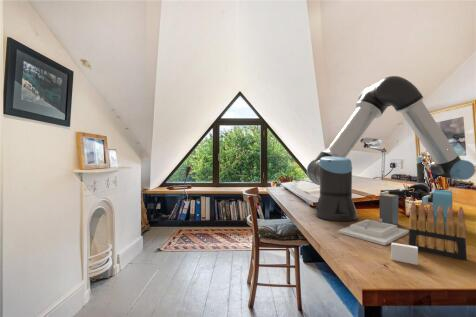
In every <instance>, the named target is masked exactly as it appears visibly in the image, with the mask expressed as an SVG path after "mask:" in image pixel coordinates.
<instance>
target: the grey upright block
mask: <svg viewBox="0 0 476 317" xmlns="http://www.w3.org/2000/svg"><path fill="white" fill-rule="evenodd" d="M379 218H381V219H382V222H383V223H387V224H392V225H397V226H398V225H399V197H398V195H391V194H383V195H380V194H379Z"/></svg>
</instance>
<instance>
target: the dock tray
mask: <svg viewBox="0 0 476 317" xmlns="http://www.w3.org/2000/svg"><path fill="white" fill-rule="evenodd" d="M338 233H339V234H341V235H346V236H349V237H353V238H356V239H359V240H364V241H367V242H372V243H374V244H378V245H382V246H387V245H388V244H390V243H393V242H394V241H396V240H398V239H400V238H402V237H403V236H405V235H407V234H409V229H406V228H405V229H404V228H401V227H398V225H392V224H387V223H383V222H382V219H381V218H380V217H379V218H378V221H377V220H372V219H367V218H366V219H364V220H361V221H358V222H355V223H352V224H349V226H347V227H343V228H341V229H339V230H338Z"/></svg>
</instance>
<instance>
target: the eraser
mask: <svg viewBox="0 0 476 317" xmlns="http://www.w3.org/2000/svg"><path fill="white" fill-rule="evenodd" d="M390 246H391V247H390V248H391V249H390V251H391V252H390V254H391V256H390V258H391V259H390V260H391V261H396V262H402V263H406V264H412V265H419V251H418V247H416V246H410V245H409V244H405V243H404V244H403V243H397V242H391V245H390Z"/></svg>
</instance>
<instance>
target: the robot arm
mask: <svg viewBox="0 0 476 317" xmlns="http://www.w3.org/2000/svg"><path fill="white" fill-rule="evenodd" d="M423 99H424V96H423V94H422V93H421V92H420V90H419V88H417V87H416V86H415V84H413V83H412V82H411V81H410V80H408V79H406V78H404V77H402V76H399V75H389V76H386V77H384V78H383V79H380V80H379V81H377V82H376V83H373V84H370V85H369V86H367V87H365V88H364V89H363V90H362V91H361V92H360V94H359V95H358V99H357V100H358V101H357V102H356V103H355V107H356V109H355V111H354V112H353V113H352V115H351V116H350V118H349V119H348V120H347V121H346V123H345V124H344V126H343V127H342V128H341V130H340V131H339V133H338V134H337V135H336V137H335V138H334V140H333V141H331V144H330V145H329V146H328V148H327V149H326V150H322V151H320V153H319V154H318V156H316V158H315V159H313V160H312V161H310V162H309V163H308V165H307V167H306V174H307V177H308V179H309V181H310V182H312V183H314V184H315V185H318V186H319V197H318V201H317V203H316V205H315V209H314V211H315V212H314V213H315V214H314V215H315V216H316V217H318V218H320V219H323V220H326V221H333V222H334V221H335V222H336V221H337V222H352V221H356V220H357V219H358V212H357V209H356V206H355V204H354V200H353V193H352V192H353V189H352V188H353V165H352V160H351V159H350V158H348V155H349V154H350V152H352V150H353V148H354V147H355V146H356V144H357V143H358V142H359V140H360V139H361V137H362V136H363V135H364V133H365V132H366V131H367V130H368V128H369V126H371V124H372V122H373V121H374V119H378V118H380V117H381V116H382V115H383V114H384V113H385V111H386V109H388V107H392V108H394V110H395V111H396V112H398V113H401V115H402V116H403V118H404V120H405V121H406V122H407V123H408V126H410V128H411V130H412V131H413V133H414V134H415V135H416V137H417V139H418V140H419V141H420V143H421V144H422V146H423V147H424V148H425V150H426V152H427V153H428V156H431V158H432V159H433V161H434V162H432V163H431V169H430V170H431V171H432V173H433V174H434V175H436V176H442V177H445V178H444V179H447V178H448V180H450V179H451V180H455V181H459V180H460V181H467V180H469V179H471V178H472V177H473V176H474V175H475V173H476V167H475V165H474V164H473V163H472V162H471V161H469V160H465V159H462V158H461V157H460V155H459V154H458V153H457V151H456V149H455V148H454V147H453V145H452V144H451V142H450V141H449V139H448V138H447V136H446V135H445V133H444V132H443V131H442V129H441V127H440V126H439V125H438V123H437V122H436V120H435V119H434V117H433V115H432V114H431V112H430V111H429V109H428V108H427V107H426V105H425V103H424V102H423ZM447 149H448V150H447ZM423 156H424V155H419V156H417V157H416V184H415V183H414V184H412V185H409V187H408V188H415V192H409V191H411V190H413V189H408V188H407V189H401V188H397V189H382V190H380V193H379V196H380V195H383V194H391V195H398V198H401V199H407V198H406V197H411V195H412V196H413V197H414V198H416V199H417V200H422V202H421V203H423V205H424V206H426V205H430V204H433V193H431V194H428V193H429V192H430V187H429V186H428V185H427V184H426V183H425V179H424V173H423V171H424V165H423V164H422V162H421V159H422V157H423ZM423 180H424V181H423Z"/></svg>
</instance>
